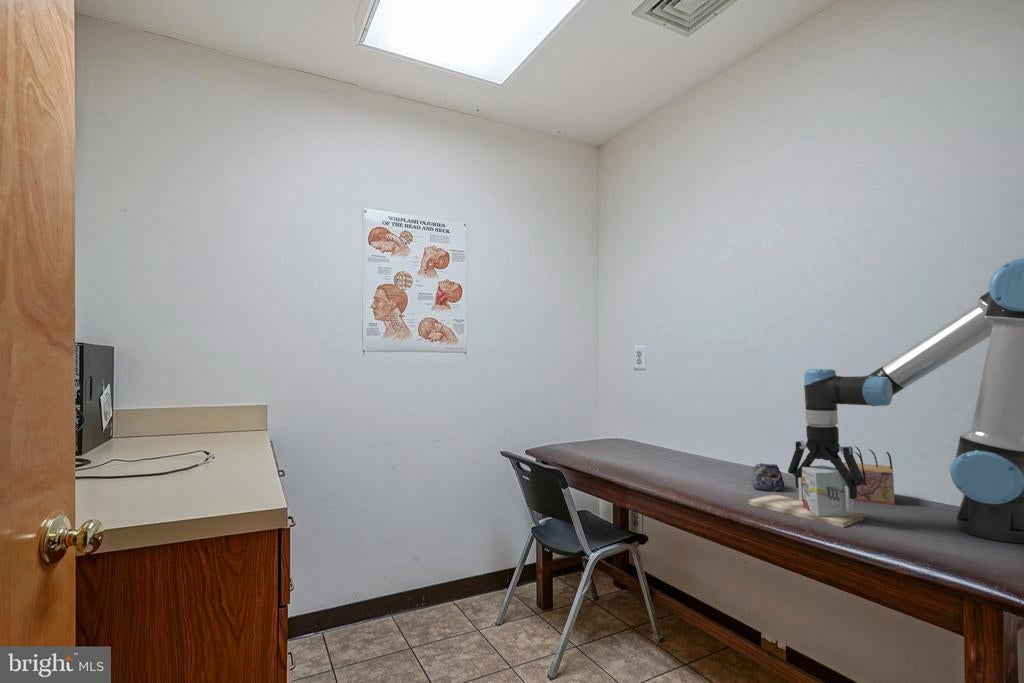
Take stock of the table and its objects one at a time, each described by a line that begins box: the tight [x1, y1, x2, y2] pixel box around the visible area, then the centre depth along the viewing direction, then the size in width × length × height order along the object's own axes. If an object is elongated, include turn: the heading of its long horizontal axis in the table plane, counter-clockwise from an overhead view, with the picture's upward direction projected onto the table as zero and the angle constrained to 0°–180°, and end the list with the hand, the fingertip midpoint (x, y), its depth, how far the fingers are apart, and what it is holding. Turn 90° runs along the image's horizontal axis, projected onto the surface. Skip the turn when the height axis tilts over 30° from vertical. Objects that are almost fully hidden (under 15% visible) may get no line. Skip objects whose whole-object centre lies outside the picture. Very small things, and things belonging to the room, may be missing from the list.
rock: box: [750, 462, 785, 492], centre depth 169 cm, size 11×10×10 cm
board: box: [747, 493, 867, 528], centre depth 143 cm, size 26×12×1 cm, turn 32°
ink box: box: [802, 464, 851, 516], centre depth 138 cm, size 9×9×12 cm
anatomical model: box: [842, 445, 896, 506], centre depth 155 cm, size 16×11×15 cm
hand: (825, 505), depth 138 cm, fingers closed on ink box, 11 cm apart
